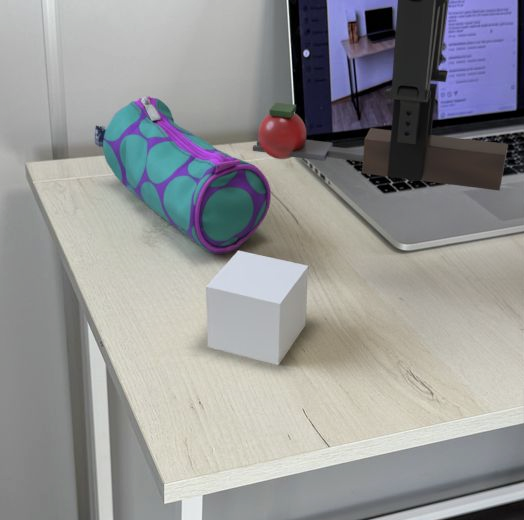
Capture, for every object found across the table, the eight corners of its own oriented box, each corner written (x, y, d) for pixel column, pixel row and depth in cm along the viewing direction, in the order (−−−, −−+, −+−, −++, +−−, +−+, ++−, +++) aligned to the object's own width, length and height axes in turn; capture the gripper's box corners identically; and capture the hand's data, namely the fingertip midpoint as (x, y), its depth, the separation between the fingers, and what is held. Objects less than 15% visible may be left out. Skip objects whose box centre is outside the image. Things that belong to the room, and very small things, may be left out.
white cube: (305, 329, 72) (308, 265, 69) (278, 369, 68) (280, 304, 64) (238, 312, 74) (238, 250, 70) (207, 351, 70) (205, 286, 66)
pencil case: (98, 185, 93) (89, 97, 88) (172, 167, 97) (167, 81, 92) (195, 271, 79) (191, 172, 74) (276, 246, 83) (279, 150, 78)
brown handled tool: (502, 174, 72) (511, 123, 69) (498, 195, 69) (508, 142, 66) (263, 145, 76) (264, 96, 74) (250, 163, 73) (249, 112, 71)
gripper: (405, -177, 65) (379, 129, 79) (363, -153, 53) (341, 204, 67) (509, -174, 63) (464, 138, 77) (490, -148, 51) (441, 217, 65)
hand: (407, 168), depth 72 cm, fingers closed on brown handled tool, 2 cm apart
